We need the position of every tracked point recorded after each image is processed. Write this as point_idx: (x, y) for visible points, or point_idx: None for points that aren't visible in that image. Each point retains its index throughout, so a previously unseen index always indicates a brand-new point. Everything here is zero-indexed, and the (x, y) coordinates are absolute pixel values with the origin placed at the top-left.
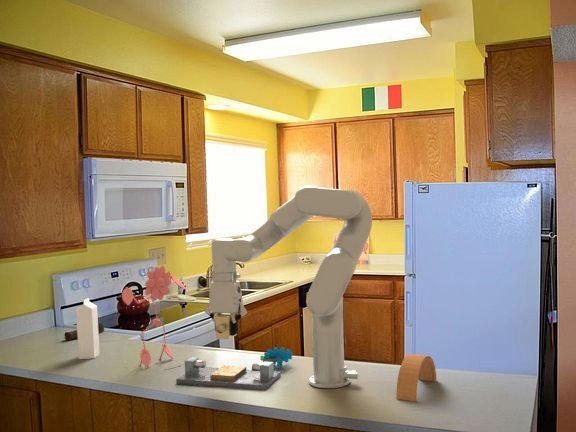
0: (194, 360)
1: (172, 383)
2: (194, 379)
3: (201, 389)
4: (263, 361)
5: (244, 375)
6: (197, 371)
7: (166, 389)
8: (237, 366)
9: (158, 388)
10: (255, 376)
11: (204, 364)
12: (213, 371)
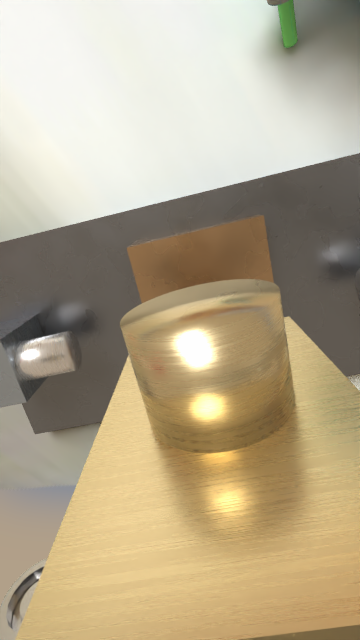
0: (20, 385)
1: (25, 423)
2: (106, 410)
3: None
4: (277, 2)
5: (284, 276)
6: (40, 333)
7: (62, 476)
8: (209, 228)
9: (28, 479)
10: (347, 268)
11: (72, 350)
12: (97, 286)
